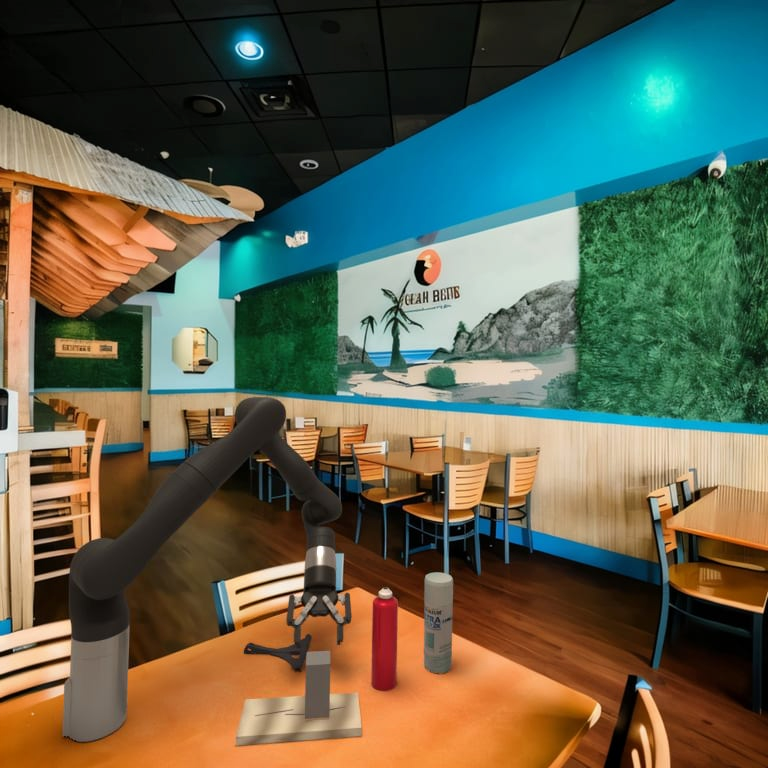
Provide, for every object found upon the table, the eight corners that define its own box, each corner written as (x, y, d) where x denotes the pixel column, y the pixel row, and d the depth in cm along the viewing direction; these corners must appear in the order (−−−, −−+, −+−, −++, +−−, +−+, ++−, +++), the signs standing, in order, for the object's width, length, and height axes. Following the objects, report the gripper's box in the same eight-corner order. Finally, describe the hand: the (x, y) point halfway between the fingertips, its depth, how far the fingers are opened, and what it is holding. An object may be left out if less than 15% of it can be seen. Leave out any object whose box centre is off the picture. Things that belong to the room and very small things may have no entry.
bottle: (389, 694, 96) (390, 595, 96) (366, 685, 98) (368, 590, 99) (401, 680, 101) (402, 586, 101) (379, 672, 103) (380, 581, 104)
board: (235, 745, 81) (235, 736, 81) (245, 707, 91) (245, 699, 91) (361, 736, 84) (361, 727, 84) (357, 699, 94) (357, 692, 94)
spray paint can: (417, 664, 107) (418, 576, 107) (437, 654, 111) (438, 569, 111) (438, 678, 102) (439, 585, 102) (457, 667, 106) (459, 578, 106)
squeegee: (252, 639, 117) (253, 628, 117) (311, 640, 117) (311, 629, 117) (234, 674, 103) (234, 661, 103) (301, 675, 103) (301, 662, 103)
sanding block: (304, 720, 85) (305, 665, 86) (305, 704, 90) (306, 651, 90) (329, 719, 86) (330, 664, 86) (329, 702, 90) (330, 650, 91)
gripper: (289, 564, 108) (283, 640, 96) (351, 562, 109) (353, 637, 98) (290, 578, 113) (285, 652, 101) (349, 576, 115) (351, 649, 103)
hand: (318, 645), depth 99 cm, fingers open, 8 cm apart
